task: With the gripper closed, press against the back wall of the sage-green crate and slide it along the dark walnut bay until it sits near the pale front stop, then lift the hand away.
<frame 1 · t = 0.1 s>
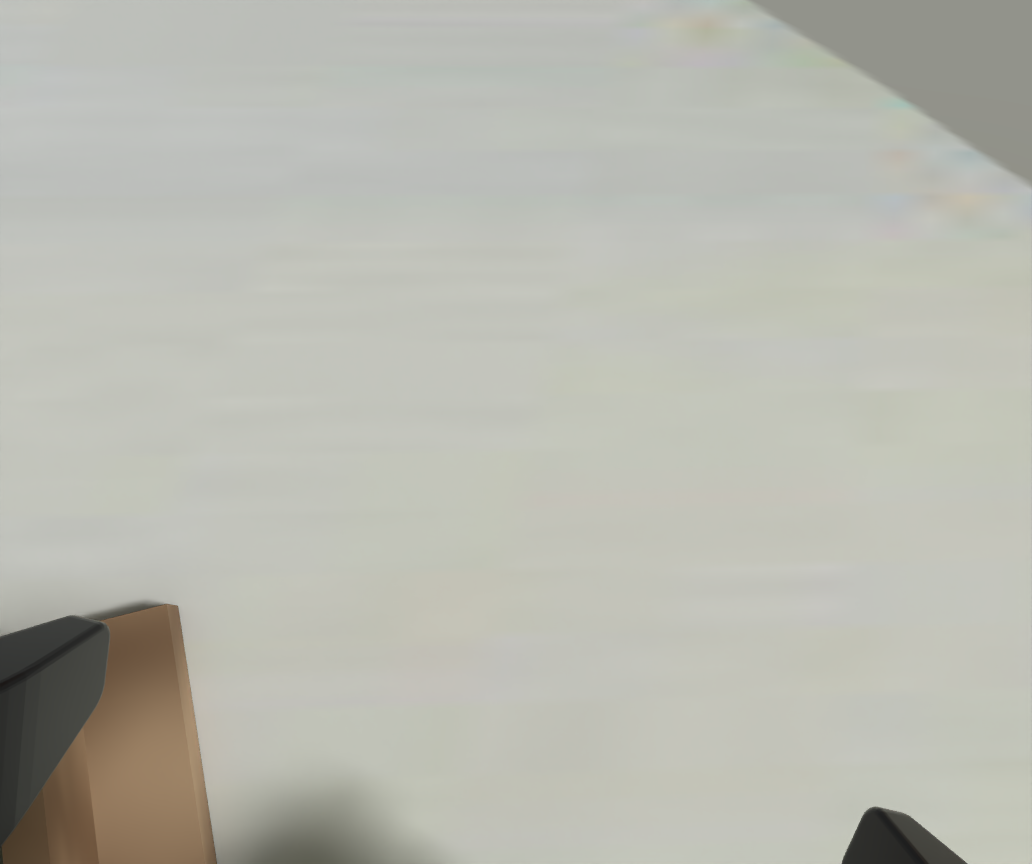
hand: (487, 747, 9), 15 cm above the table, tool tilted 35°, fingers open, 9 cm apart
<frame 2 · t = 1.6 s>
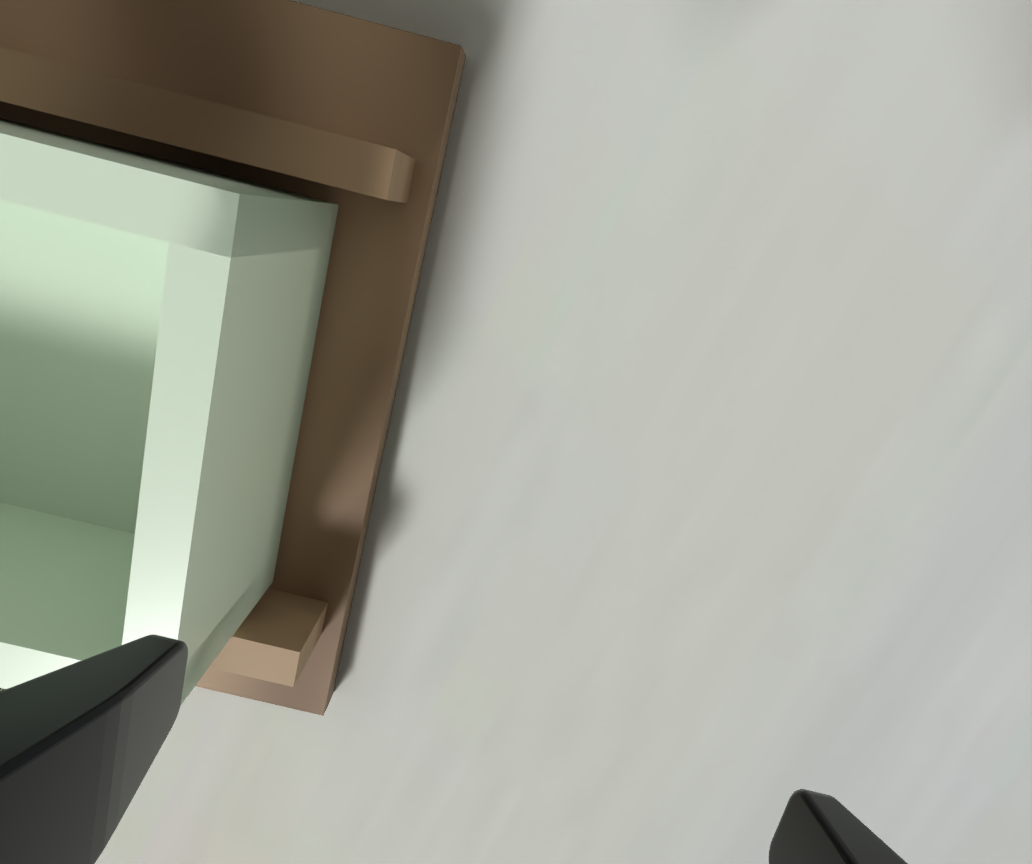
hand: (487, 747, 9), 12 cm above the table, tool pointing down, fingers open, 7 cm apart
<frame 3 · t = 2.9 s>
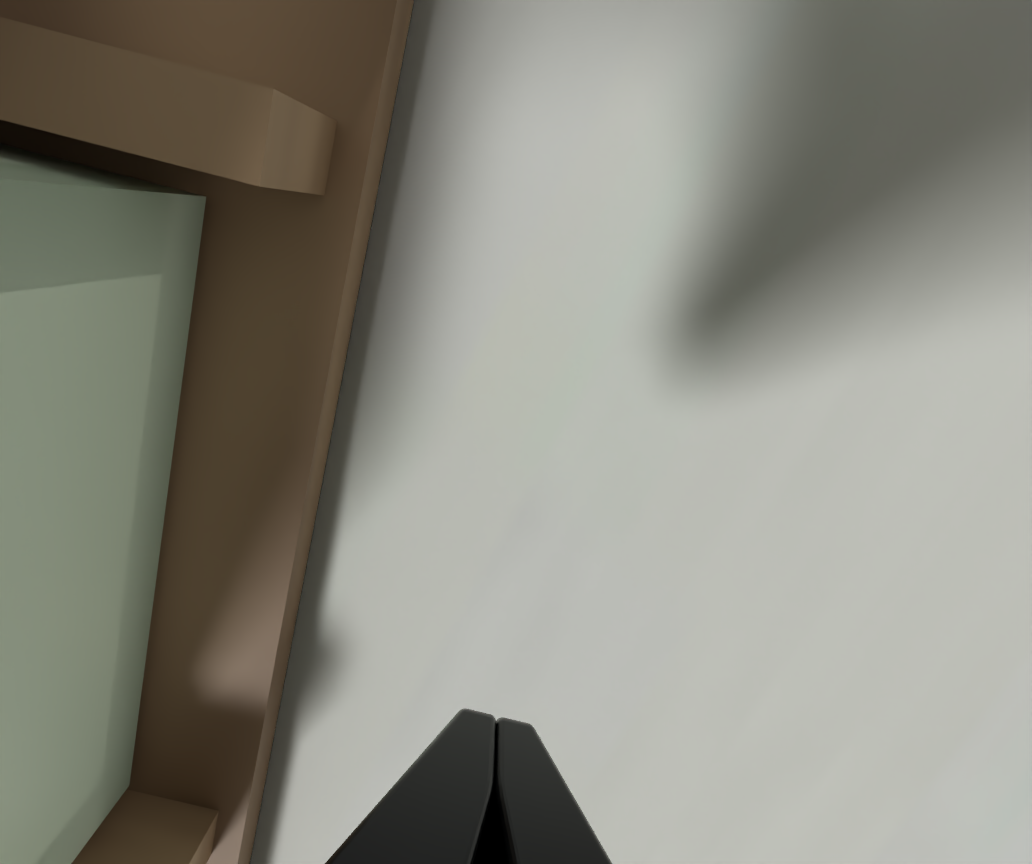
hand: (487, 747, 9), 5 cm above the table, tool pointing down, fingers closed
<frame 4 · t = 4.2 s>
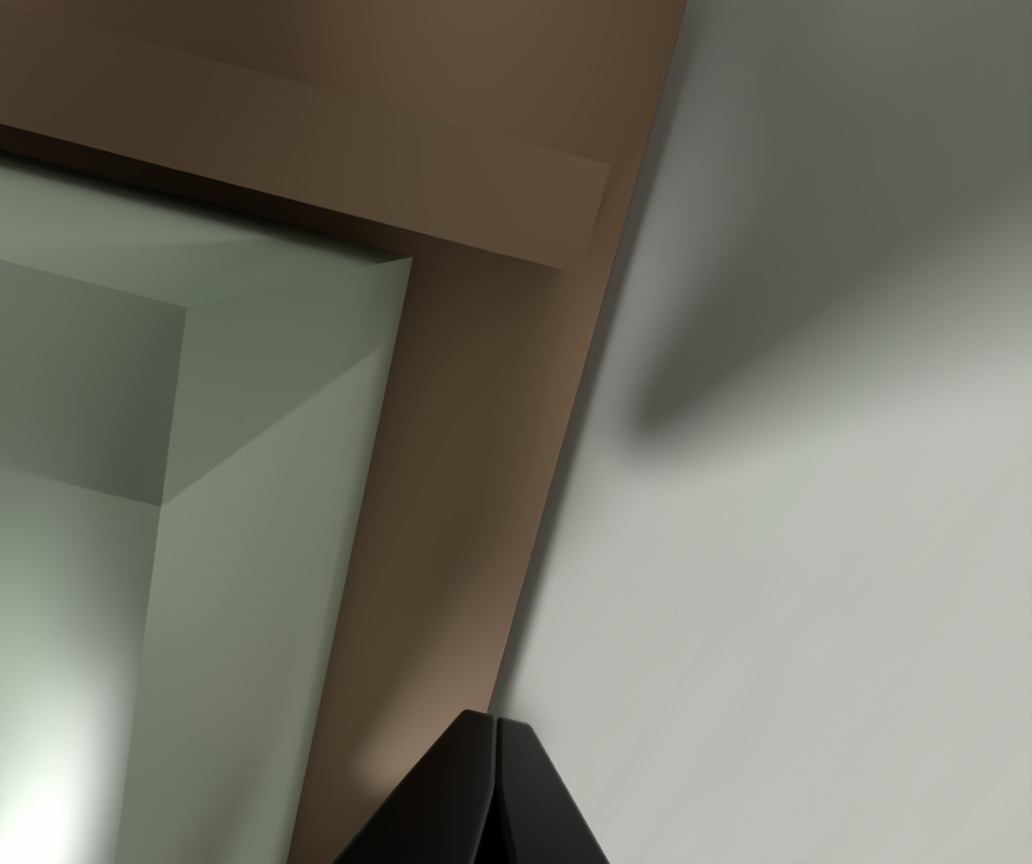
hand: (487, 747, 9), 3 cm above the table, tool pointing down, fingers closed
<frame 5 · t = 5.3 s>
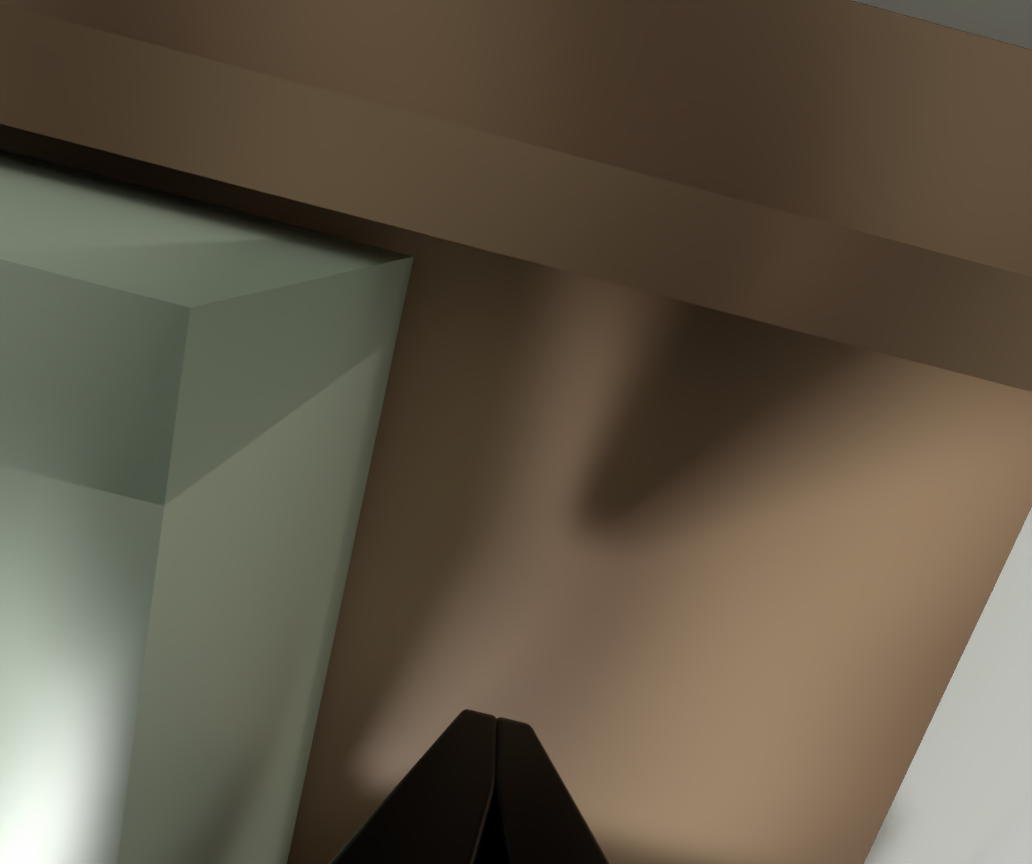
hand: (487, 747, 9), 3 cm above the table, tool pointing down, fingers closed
walnut bay: (157, 519, 12), on the table
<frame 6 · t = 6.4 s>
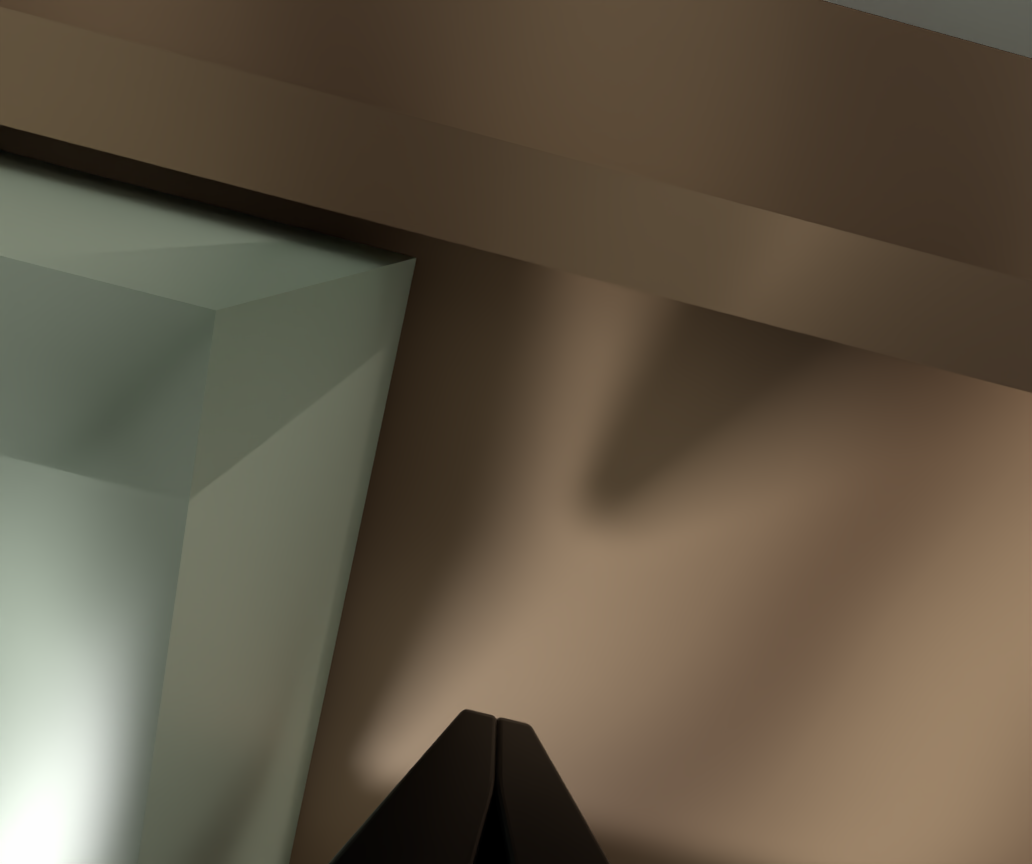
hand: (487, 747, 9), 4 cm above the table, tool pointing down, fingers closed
walnut bay: (343, 561, 12), on the table
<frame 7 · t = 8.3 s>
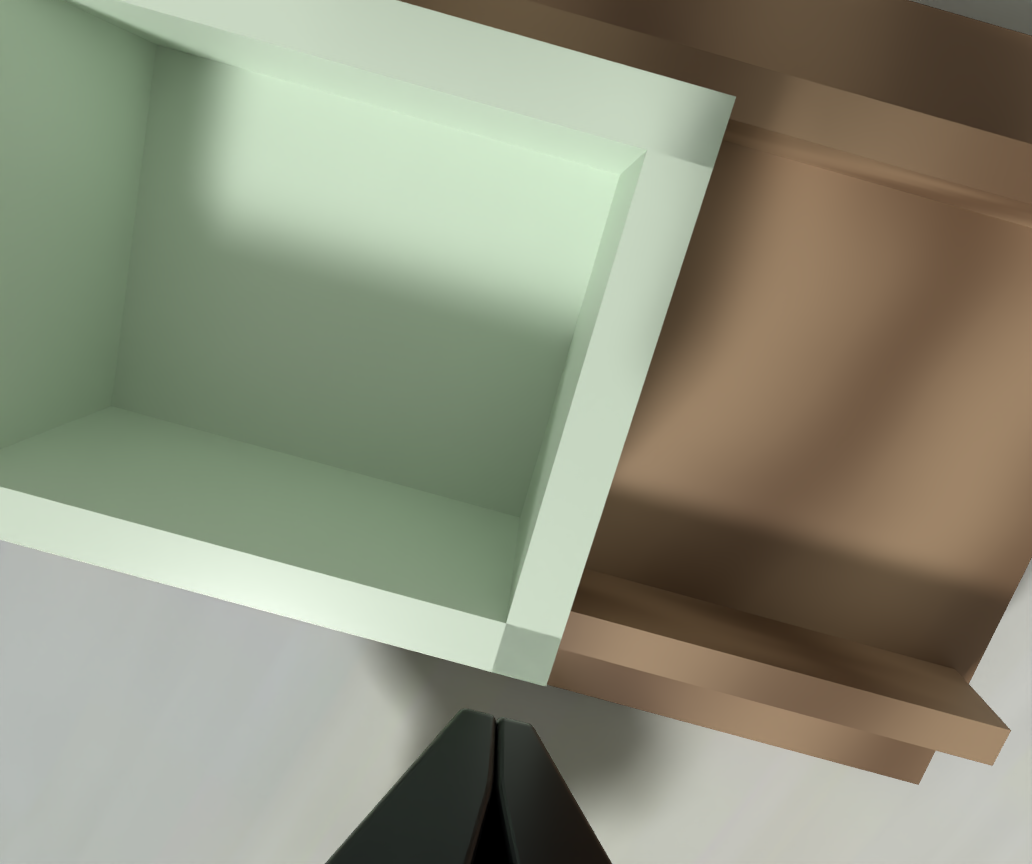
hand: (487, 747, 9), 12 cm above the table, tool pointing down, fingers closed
walnut bay: (591, 349, 19), on the table
crate: (323, 305, 15), point 4 cm above the table, slide at 9.7 cm
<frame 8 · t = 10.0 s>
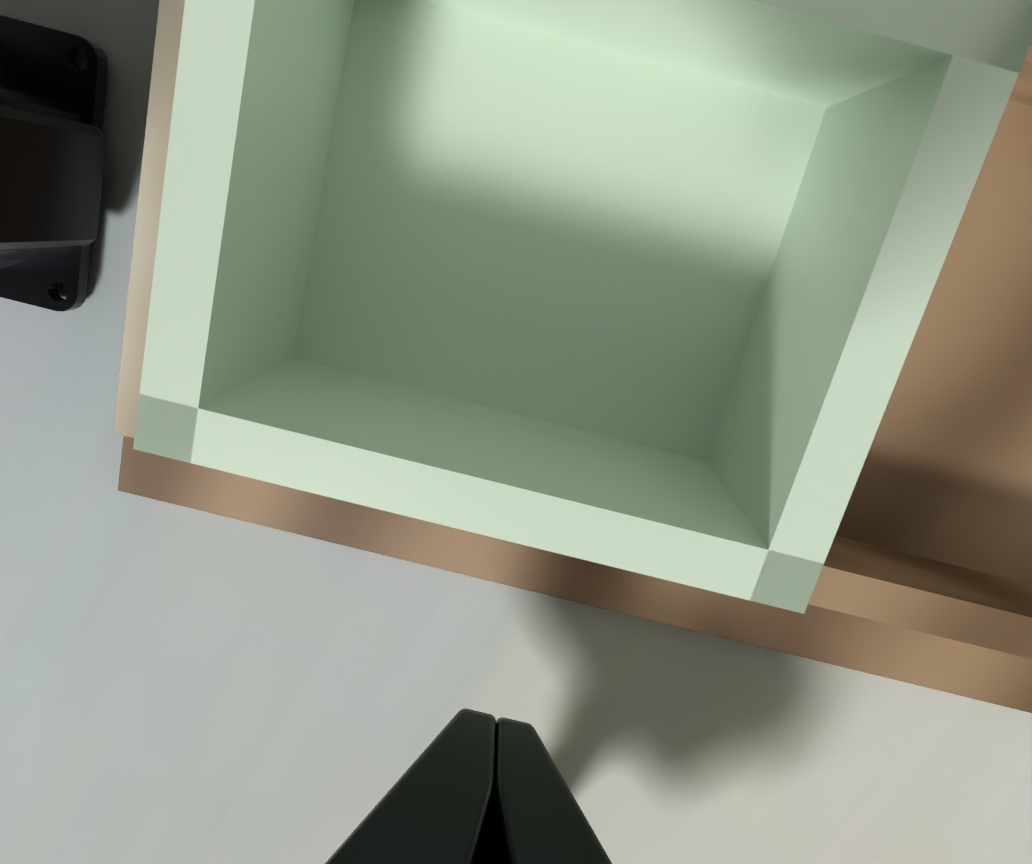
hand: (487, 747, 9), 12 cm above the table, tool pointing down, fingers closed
walnut bay: (762, 294, 19), on the table
crate: (545, 241, 15), point 4 cm above the table, slide at 9.7 cm
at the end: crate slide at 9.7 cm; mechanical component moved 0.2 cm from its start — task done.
